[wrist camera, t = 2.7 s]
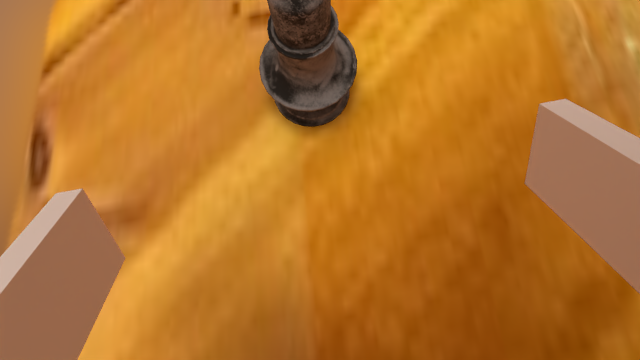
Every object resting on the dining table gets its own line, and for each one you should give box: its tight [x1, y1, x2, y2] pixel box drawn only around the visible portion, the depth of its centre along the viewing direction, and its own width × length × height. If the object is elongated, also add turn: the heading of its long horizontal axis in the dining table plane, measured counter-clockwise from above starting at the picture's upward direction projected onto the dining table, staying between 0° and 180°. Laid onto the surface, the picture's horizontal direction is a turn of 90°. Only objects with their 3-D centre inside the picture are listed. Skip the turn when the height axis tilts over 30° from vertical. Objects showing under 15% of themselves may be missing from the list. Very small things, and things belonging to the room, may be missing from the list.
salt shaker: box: [259, 0, 357, 127], centre depth 20 cm, size 6×6×12 cm
